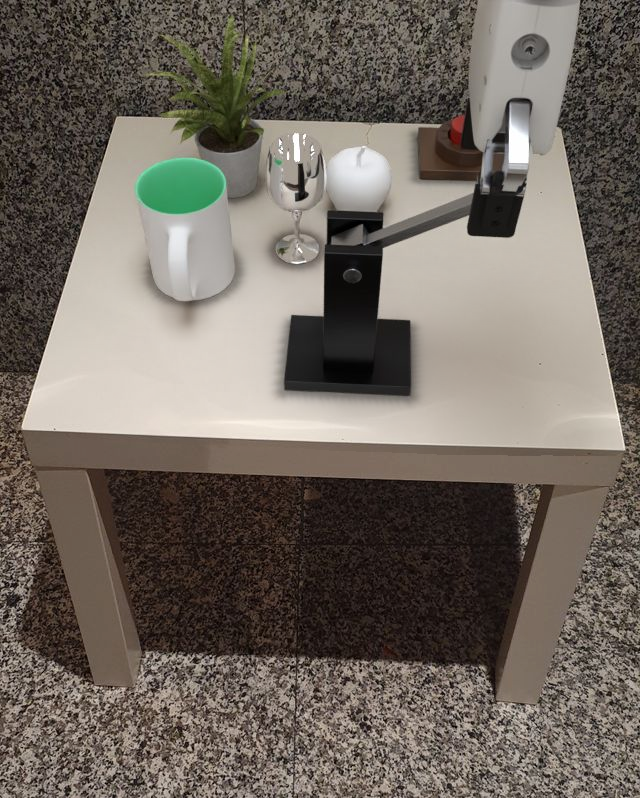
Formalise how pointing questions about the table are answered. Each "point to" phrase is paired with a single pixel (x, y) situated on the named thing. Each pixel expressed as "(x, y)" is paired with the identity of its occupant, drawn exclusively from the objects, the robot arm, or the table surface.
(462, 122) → the button
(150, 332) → the table surface
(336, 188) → the plain white apple
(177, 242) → the mug
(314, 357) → the bracket
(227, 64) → the house plant
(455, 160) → the button block
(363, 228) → the lever
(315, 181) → the wineglass
